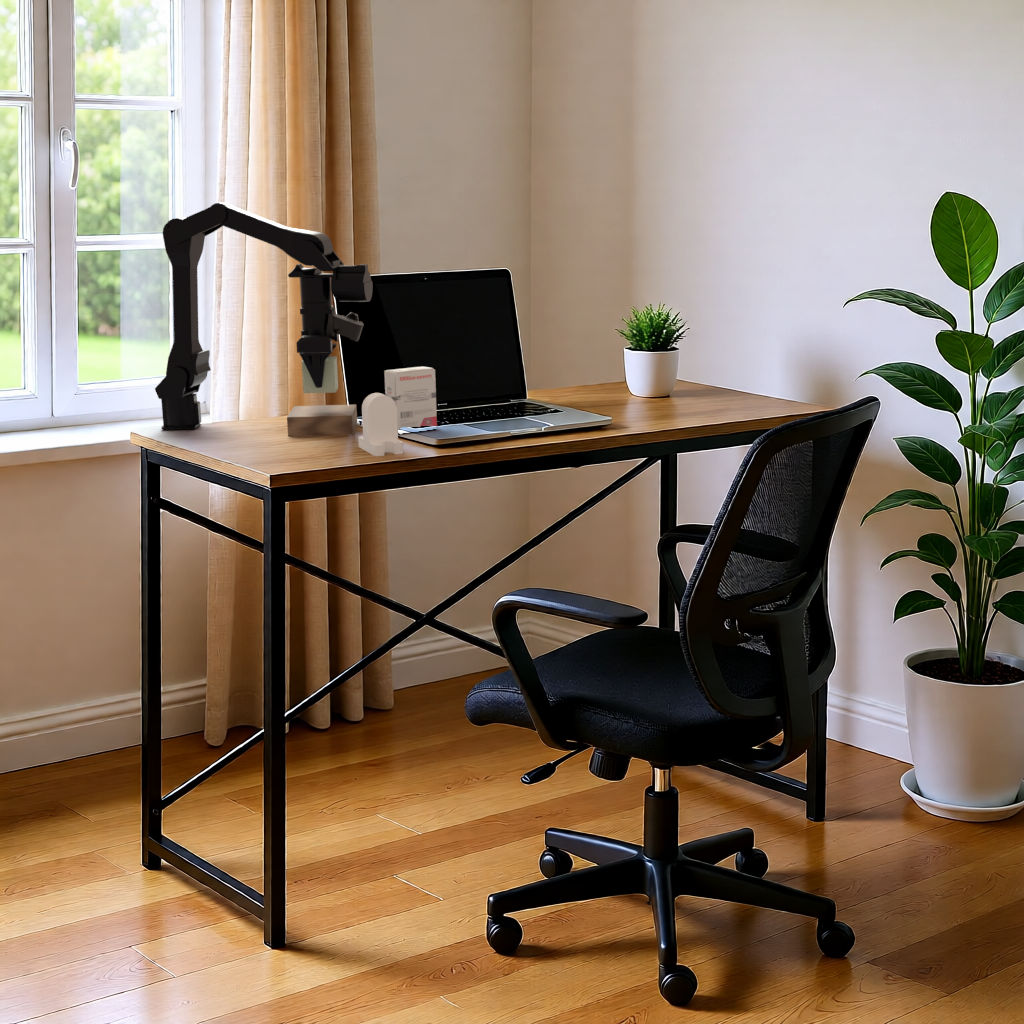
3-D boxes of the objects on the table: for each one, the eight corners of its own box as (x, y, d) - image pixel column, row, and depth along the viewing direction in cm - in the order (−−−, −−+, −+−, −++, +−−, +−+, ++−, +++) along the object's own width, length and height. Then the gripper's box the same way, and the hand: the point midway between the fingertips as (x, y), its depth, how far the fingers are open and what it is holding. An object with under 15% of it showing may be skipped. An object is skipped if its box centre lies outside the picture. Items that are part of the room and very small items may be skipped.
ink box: (426, 426, 266) (424, 364, 263) (438, 430, 261) (436, 367, 259) (385, 431, 261) (383, 368, 258) (397, 435, 257) (394, 372, 254)
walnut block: (288, 438, 259) (286, 417, 258) (295, 426, 270) (294, 406, 269) (352, 436, 259) (351, 415, 258) (357, 424, 271) (356, 404, 270)
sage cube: (303, 393, 260) (301, 361, 258) (306, 388, 266) (305, 356, 264) (335, 392, 260) (334, 360, 259) (338, 387, 266) (336, 356, 264)
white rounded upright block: (375, 456, 239) (372, 399, 237) (357, 446, 248) (355, 391, 246) (404, 453, 241) (402, 396, 239) (386, 443, 250) (383, 388, 248)
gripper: (356, 305, 250) (360, 391, 254) (363, 296, 268) (366, 376, 272) (294, 307, 250) (298, 393, 253) (305, 297, 268) (309, 377, 272)
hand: (320, 384), depth 263 cm, fingers closed on sage cube, 6 cm apart
